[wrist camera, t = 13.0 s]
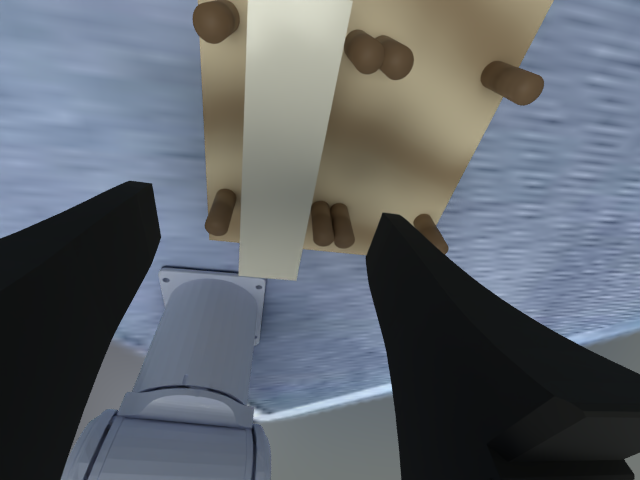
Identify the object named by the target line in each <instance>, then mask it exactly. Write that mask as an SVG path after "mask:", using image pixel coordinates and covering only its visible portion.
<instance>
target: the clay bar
mask: <svg viewBox="0 0 640 480" xmlns="http://www.w3.org/2000/svg"><path fill="white" fill-rule="evenodd" d="M352 3H353V1H351V0H248V13H247V43H246V72H245V101H244V131H243V160H242V189H241V219H240V248H239V276H246V277H258V278H270V279H282V280H294V281H296V279H297V274H298V269H299V264H300V260H301V255H302V250H303V245H304V240H305V235H306V230H307V225H308V220H309V215H310V210H311V205H312V200H313V195H314V190H315V186H316V181H317V176H318V171H319V166H320V161H321V156H322V151H323V146H324V141H325V136H326V131H327V126H328V121H329V116H330V112H331V107H332V102H333V97H334V92H335V87H336V82H337V77H338V72H339V67H340V62H341V57H342V52H343V47H344V43H345V38H346V33H347V28H348V23H349V18H350V13H351V8H352Z"/></svg>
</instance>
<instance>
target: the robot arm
mask: <svg viewBox="0 0 640 480" xmlns="http://www.w3.org/2000/svg"><path fill="white" fill-rule="evenodd" d="M160 239H161V234H160V228H159V222H158V216H157V210H156V205H155V199H154V193H153V187H152V183H144V182H136V181H128V182H125V183H123V184H120V185H118V186H116V187H114V188H112V189H109V190H107V191H105V192H103V193H101V194H99V195H97V196H95V197H93V198H91V199H89V200H87V201H85V202H83V203H81V204H79V205H76V206H74V207H72V208H70V209H68V210H66V211H64V212H62V213H60V214H57V215H55V216H53V217H50V218H48V219H46V220H44V221H41V222H39V223H37V224H34V225H32V226H30V227H28V228H25V229H23V230H21V231H18V232H16V233H13V234H11V235H8V236H6V237H3V238H0V480H271V451H270V444H269V441H268V438H267V436H266V435H265V433H264V430H263V428H262V426H261V425H259V424H253V414H254V407H251V406H247V401H248V392H249V384H250V375H251V366H252V357H253V348H254V346H256V345H258V344H259V338H260V329H261V320H262V311H263V302H264V293H265V284H266V279H265V278H258V277H246V276H239V274H236V273H224V272H212V271H200V270H188V269H176V268H161V269H160V271H159V273H158V276H159V281H160V286H161V291H162V296H163V301H164V306H165V310H164V313H163V315H162V318H161V320H160V323H159V325H158V328H157V330H156V333H155V335H154V338H153V340H152V343H151V345H150V348H149V350H148V353H147V355H146V358H145V360H144V363H143V365H142V368H141V370H140V373H139V375H138V378H137V380H136V383H135V385H134V388H133V390H132V392H127V393H126V394H125V396H124V399H123V401H122V404H121V406H120V409H119V411H118V410H113V409H107V410H105V411H104V412H102V413H101V415H99V416H98V417H96V418H94V419H93V420H91V421H90V422H89V423H88V424H87V426H86V427H85V429H84V430H83V432H82V433H81V435H80V437H79V438H78V440H77V442H76V444H75V446H74V447H73V449H72V451H71V453H70V455H69V452H70V449H71V446H72V443H73V440H74V437H75V434H76V431H77V429H78V425H79V423H80V420H81V417H82V414H83V411H84V408H85V406H86V403H87V401H88V398H89V395H90V393H91V390H92V387H93V385H94V382H95V379H96V377H97V374H98V372H99V369H100V367H101V364H102V362H103V359H104V357H105V354H106V352H107V349H108V347H109V344H110V342H111V340H112V338H113V336H114V334H115V332H116V330H117V327H118V326H119V324H120V322H121V320H122V318H123V316H124V314H125V313H126V311H127V309H128V307H129V305H130V303H131V302H132V300H133V298H134V296H135V294H136V292H137V291H138V289H139V287H140V285H141V283H142V281H143V279H144V278H145V276H146V274H147V272H148V270H149V268H150V266H151V264H152V261H153V259H154V256H155V254H156V251H157V248H158V245H159V242H160ZM366 266H367V275H368V282H369V287H370V291H371V294H372V298H373V302H374V306H375V309H376V313H377V317H378V321H379V324H380V328H381V332H382V335H383V339H384V343H385V348H386V352H387V358H388V364H389V371H390V377H391V384H392V391H393V399H394V406H395V413H396V424H397V433H398V441H399V442H398V443H399V452H400V453H399V454H400V467H401V480H634V473H633V472H632V470H631V469H630V468H629V466H628V465H627V463H626V462H625V460H624V459H625V458H628V457H630V456H632V455H635V454H637V453H640V374H638V373H636V372H634V371H632V370H630V369H627V368H625V367H623V366H621V365H619V364H617V363H615V362H613V361H610V360H608V359H606V358H604V357H602V356H600V355H598V354H596V353H594V352H592V351H590V350H588V349H586V348H584V347H582V346H580V345H578V344H577V343H575V342H573V341H571V340H569V339H567V338H565V337H563V336H562V335H560V334H558V333H556V332H554V331H553V330H551V329H549V328H547V327H546V326H544V325H542V324H540V323H539V322H537V321H535V320H534V319H532V318H530V317H529V316H527V315H526V314H524V313H522V312H521V311H519V310H518V309H516V308H514V307H513V306H511V305H510V304H508V303H507V302H505V301H504V300H502V299H501V298H499V297H498V296H497V295H495V294H494V293H492V292H491V291H490V290H488V289H487V288H485V287H484V286H483V285H481V284H480V283H478V282H477V281H476V280H475V279H473V278H472V277H471V276H469V275H468V274H467V273H466V272H465V271H463V270H462V269H461V268H460V267H458V266H457V265H456V264H455V263H454V262H453V261H451V260H450V259H449V258H448V257H447V256H446V255H444V254H443V253H442V252H441V251H440V250H439V249H438V248H437V247H436V246H435V245H433V244H432V243H431V242H430V241H429V240H428V239H427V238H426V237H425V236H424V235H423V234H422V233H420V232H419V231H418V230H417V229H416V228H415V227H414V226H413V225H412V224H411V223H410V222H408V221H407V220H406V219H405V218H404V217H402V216H401V215H399V214H391V213H382V215H381V218H380V221H379V223H378V226H377V229H376V231H375V234H374V237H373V239H372V242H371V244H370V247H369V250H368V252H367V255H366ZM167 278H168V279H167ZM258 285H261V286H258ZM68 455H69V457H68ZM67 458H68V459H67Z"/></svg>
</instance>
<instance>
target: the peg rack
mask: <svg viewBox="0 0 640 480" xmlns="http://www.w3.org/2000/svg"><path fill="white" fill-rule="evenodd" d="M351 1H353V3H352V8H351V13H350V18H349V23H348V28H347V33H346V38H345V43H344V47H343V52H342V57H341V62H340V67H339V72H338V77H337V82H336V87H335V92H334V97H333V102H332V107H331V112H330V116H329V121H328V126H327V131H326V136H325V141H324V146H323V151H322V156H321V161H320V166H319V171H318V176H317V181H316V186H315V190H314V195H313V200H312V205H311V210H310V215H309V220H308V225H307V230H306V235H305V240H304V245H303V249H308V250H318V251H328V252H338V253H349V254H359V255H367V252H368V250H369V247H370V244H371V242H372V239H373V237H374V234H375V231H376V229H377V226H378V223H379V221H380V218H381V215H382V213H391V214H399V215H401V216H402V217H404V218H405V219H406V220H407V221H408V222H410V223H411V224H412V225H413V226H414V227H415V228H416V229H417V230H418V231H419V232H420V233H422V234H423V235H424V236H425V237H426V238H427V239H428V240H429V241H430V242H431V243H432V244H433V245H435V246H436V247H437V248H438V249H439V250H440V251H441V252H442V253H443V254H444V255H445V254H446V253H447V251H448V245H447V244H446V242H445V240H444V239H443V237H442V235H441V233H440V232H439V230H438V228H437V227H436V225H437V223H438V221H439V219H440V217H441V215H442V213H443V211H444V209H445V207H446V205H447V203H448V202H449V200H450V198H451V196H452V194H453V192H454V190H455V188H456V186H457V184H458V182H459V181H460V179H461V177H462V175H463V173H464V171H465V169H466V167H467V165H468V163H469V161H470V159H471V158H472V156H473V154H474V152H475V150H476V148H477V146H478V144H479V142H480V140H481V138H482V136H483V135H484V133H485V131H486V129H487V127H488V125H489V123H490V121H491V119H492V117H493V115H494V114H495V112H496V110H497V108H498V106H499V104H500V102H501V100H502V98H503V97H505V98H507V99H509V100H510V101H512V102H514V103H516V104H518V105H528V104H530V103H532V102H533V101H534V100H536V99H537V98H538V97H539V95H540V94H541V92H542V90H543V87H544V81H543V78H542V77H541V76H539V75H537V74H534V73H531V72H529V71H526V70H523V69H521V68H519V66H520V64H521V62H522V60H523V58H524V56H525V54H526V52H527V50H528V48H529V47H530V45H531V43H532V41H533V39H534V37H535V35H536V33H537V31H538V29H539V27H540V25H541V24H542V22H543V20H544V18H545V16H546V14H547V12H548V10H549V8H550V6H551V4H552V2H553V1H554V0H351ZM247 13H248V0H198V6H197V7H196V8H195V10H194V13H193V25H194V28H195V30H196V32H197V34H198V35H199V36H200V55H201V75H202V96H203V116H204V137H205V158H206V178H207V199H208V217H207V220H206V222H205V229H206V230H207V232H208V233H209V240H217V241H227V242H237V243H240V219H241V189H242V160H243V131H244V101H245V72H246V43H247Z"/></svg>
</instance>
